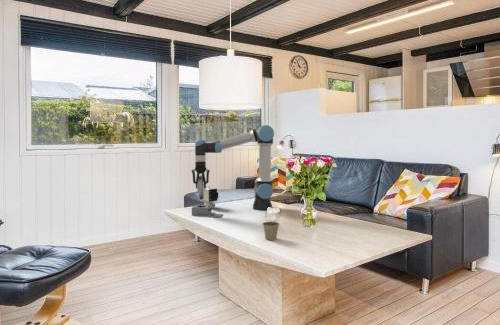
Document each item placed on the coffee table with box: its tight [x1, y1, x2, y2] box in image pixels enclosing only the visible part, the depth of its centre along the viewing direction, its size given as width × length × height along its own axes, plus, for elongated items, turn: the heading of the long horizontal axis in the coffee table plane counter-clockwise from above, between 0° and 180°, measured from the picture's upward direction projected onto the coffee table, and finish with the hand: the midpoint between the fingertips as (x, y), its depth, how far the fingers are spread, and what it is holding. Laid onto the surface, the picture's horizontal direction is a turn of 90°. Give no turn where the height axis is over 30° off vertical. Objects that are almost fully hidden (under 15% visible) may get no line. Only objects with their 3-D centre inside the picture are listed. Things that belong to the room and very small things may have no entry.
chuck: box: [191, 204, 212, 217], centre depth 269 cm, size 12×12×6 cm
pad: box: [208, 213, 224, 218], centre depth 262 cm, size 9×9×1 cm
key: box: [198, 174, 204, 200], centre depth 268 cm, size 4×10×17 cm, turn 175°
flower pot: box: [262, 221, 280, 241], centre depth 203 cm, size 9×9×9 cm
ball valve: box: [201, 185, 219, 210], centre depth 289 cm, size 18×8×18 cm, turn 37°
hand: (201, 192), depth 268 cm, fingers closed on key, 3 cm apart
